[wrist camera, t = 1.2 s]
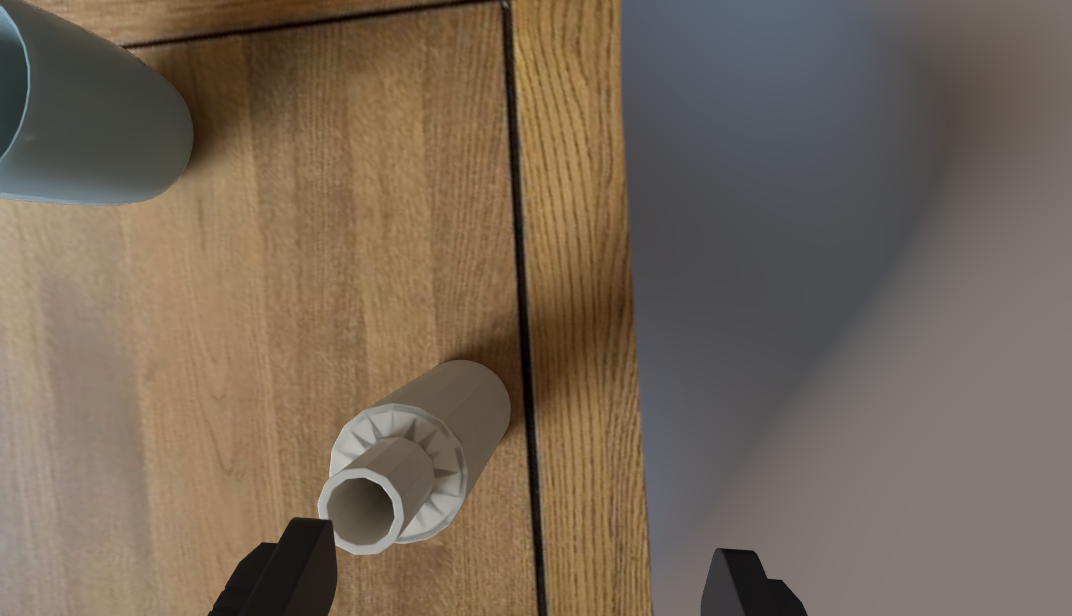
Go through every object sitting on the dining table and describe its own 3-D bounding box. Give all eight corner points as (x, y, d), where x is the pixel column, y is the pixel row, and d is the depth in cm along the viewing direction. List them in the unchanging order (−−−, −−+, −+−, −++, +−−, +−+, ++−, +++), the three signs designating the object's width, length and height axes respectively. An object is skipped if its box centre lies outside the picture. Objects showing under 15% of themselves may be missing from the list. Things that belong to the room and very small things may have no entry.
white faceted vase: (470, 340, 38) (372, 396, 22) (530, 419, 38) (476, 533, 22) (396, 397, 38) (249, 491, 23) (454, 474, 38) (348, 622, 23)
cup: (183, 239, 39) (-16, 229, 27) (63, 170, 40) (-185, 128, 27) (243, 106, 38) (66, 29, 26) (119, 37, 39) (-114, -72, 26)
